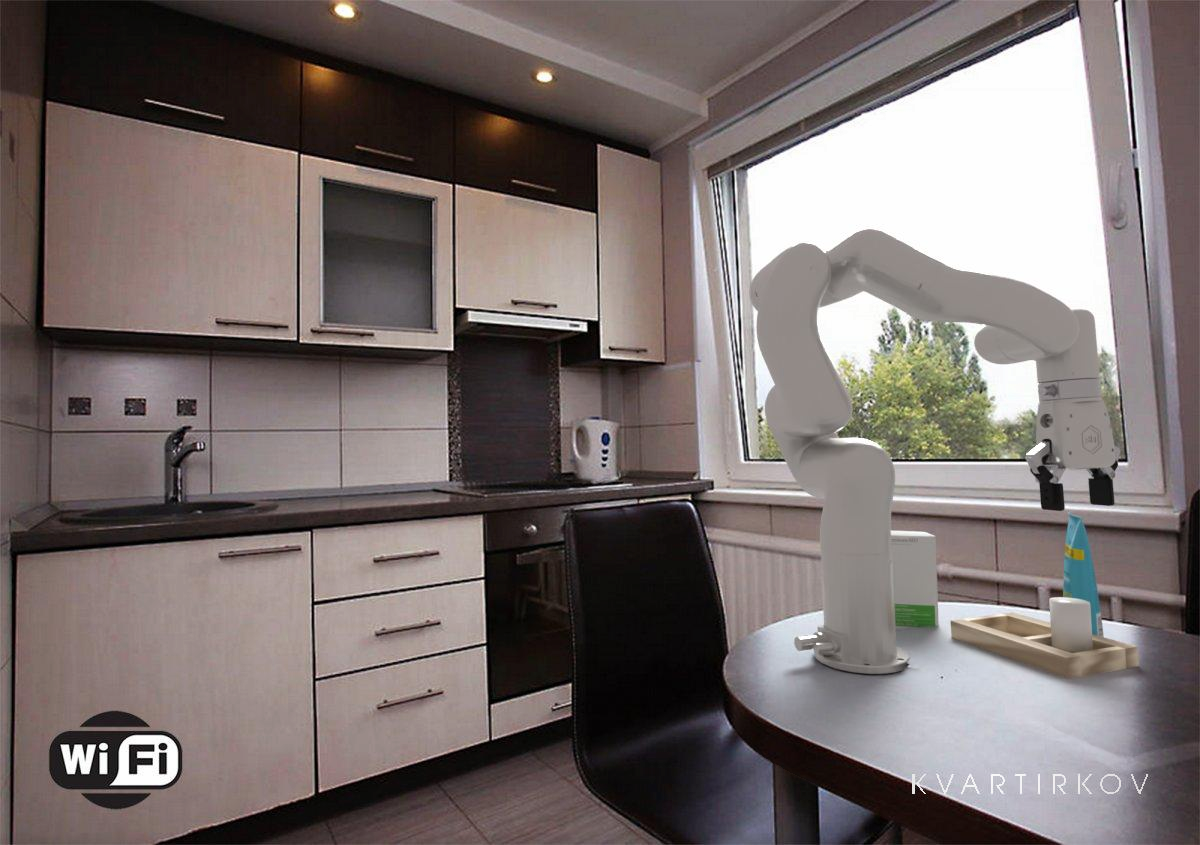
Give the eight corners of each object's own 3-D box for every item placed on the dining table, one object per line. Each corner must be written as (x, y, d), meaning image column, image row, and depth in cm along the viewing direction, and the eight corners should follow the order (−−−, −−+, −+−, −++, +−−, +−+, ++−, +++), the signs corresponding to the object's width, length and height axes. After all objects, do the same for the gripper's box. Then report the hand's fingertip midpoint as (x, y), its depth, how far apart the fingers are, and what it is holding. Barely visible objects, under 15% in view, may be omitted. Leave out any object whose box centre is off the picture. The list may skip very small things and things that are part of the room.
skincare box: (885, 630, 103) (881, 535, 104) (877, 619, 110) (873, 529, 110) (941, 632, 101) (937, 535, 102) (930, 621, 108) (925, 529, 108)
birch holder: (1068, 686, 78) (1066, 657, 78) (951, 643, 96) (950, 620, 96) (1139, 674, 82) (1137, 646, 82) (1013, 635, 99) (1012, 612, 99)
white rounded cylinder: (1076, 669, 81) (1073, 606, 81) (1044, 658, 85) (1041, 599, 86) (1102, 665, 82) (1098, 603, 83) (1069, 654, 87) (1065, 595, 87)
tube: (1056, 636, 98) (1049, 511, 98) (1094, 638, 96) (1086, 511, 97) (1073, 651, 91) (1065, 517, 91) (1114, 654, 89) (1106, 517, 90)
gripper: (1048, 392, 89) (1057, 514, 88) (1138, 389, 94) (1147, 505, 93) (1001, 397, 96) (1010, 510, 96) (1086, 394, 101) (1095, 501, 100)
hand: (1077, 507), depth 94 cm, fingers open, 9 cm apart
